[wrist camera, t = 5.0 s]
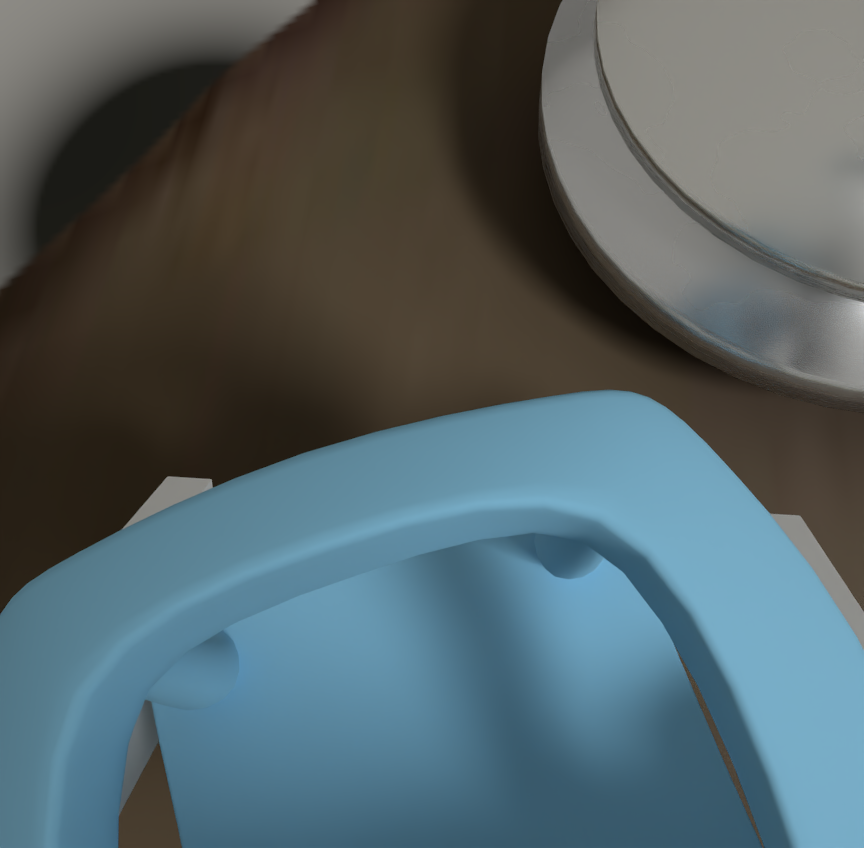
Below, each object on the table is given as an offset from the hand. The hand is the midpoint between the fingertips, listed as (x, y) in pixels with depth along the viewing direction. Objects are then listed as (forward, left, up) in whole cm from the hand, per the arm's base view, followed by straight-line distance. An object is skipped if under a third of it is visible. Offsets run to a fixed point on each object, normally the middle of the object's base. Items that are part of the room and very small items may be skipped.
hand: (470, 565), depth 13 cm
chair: (+1, +3, -4) cm, 6 cm away
